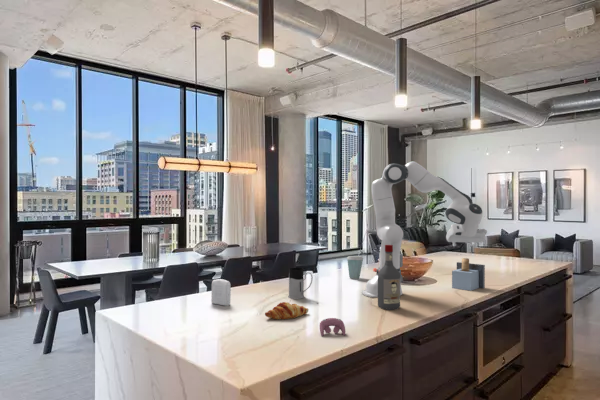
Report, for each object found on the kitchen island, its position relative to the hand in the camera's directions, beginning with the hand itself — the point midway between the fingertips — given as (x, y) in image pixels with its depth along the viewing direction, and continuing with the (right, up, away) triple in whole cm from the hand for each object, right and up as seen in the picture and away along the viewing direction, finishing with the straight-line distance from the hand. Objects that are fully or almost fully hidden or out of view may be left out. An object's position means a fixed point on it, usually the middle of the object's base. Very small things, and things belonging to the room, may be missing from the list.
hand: (462, 245), depth 244 cm
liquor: (-49, -26, -37) cm, 67 cm away
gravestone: (-131, -26, -30) cm, 137 cm away
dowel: (+4, -20, +6) cm, 22 cm away
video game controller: (-80, -26, -78) cm, 114 cm away
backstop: (+2, -26, +5) cm, 26 cm away
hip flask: (-33, -26, +33) cm, 54 cm away
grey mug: (-92, -26, -16) cm, 97 cm away
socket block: (+4, -25, +6) cm, 26 cm away
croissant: (-98, -26, -53) cm, 114 cm away
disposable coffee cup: (-56, -26, +40) cm, 74 cm away
